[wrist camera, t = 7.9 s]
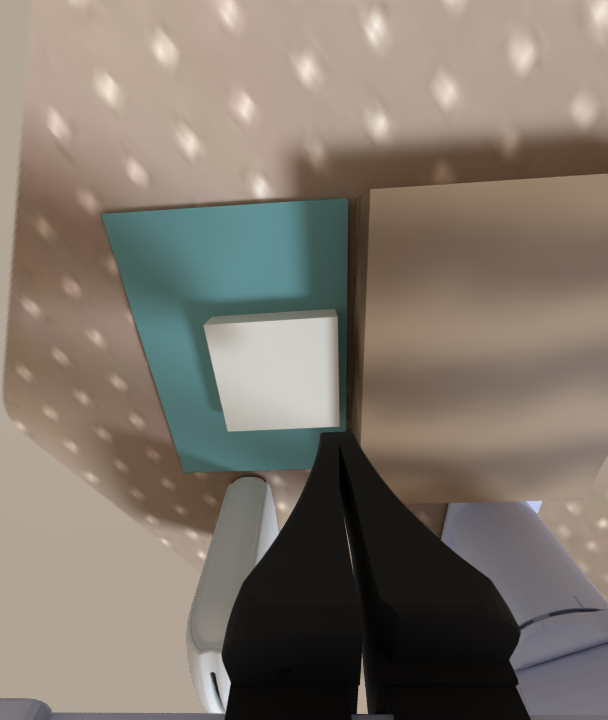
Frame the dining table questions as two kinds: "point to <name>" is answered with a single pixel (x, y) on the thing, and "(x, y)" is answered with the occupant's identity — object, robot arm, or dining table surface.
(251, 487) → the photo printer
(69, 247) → the dining table surface
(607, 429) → the wood grain panel
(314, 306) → the mat
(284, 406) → the coaster
